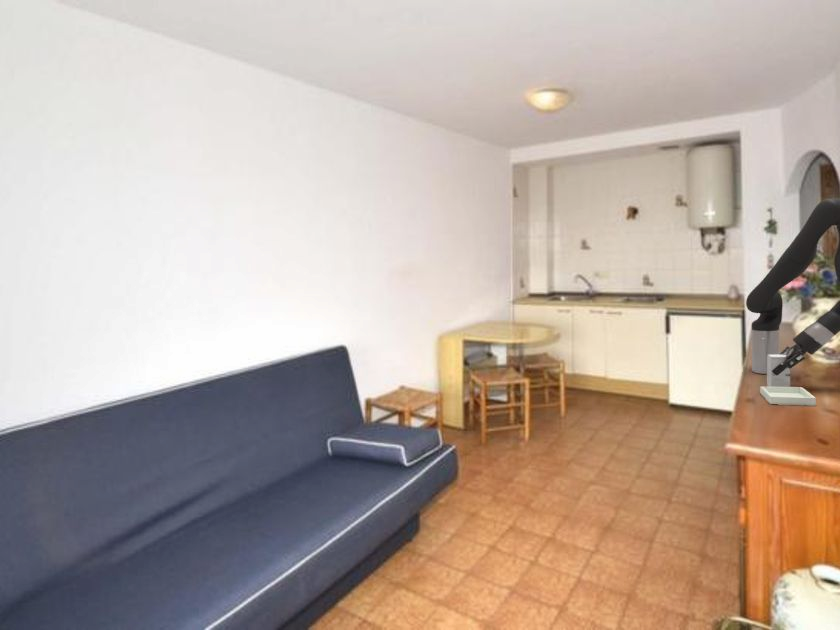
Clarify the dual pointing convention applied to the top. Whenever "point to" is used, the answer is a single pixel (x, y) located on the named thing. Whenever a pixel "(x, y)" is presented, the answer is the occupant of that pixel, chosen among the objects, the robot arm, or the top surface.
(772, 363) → the skincare box
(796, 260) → the robot arm
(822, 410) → the top surface
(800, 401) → the tray
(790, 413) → the top surface
